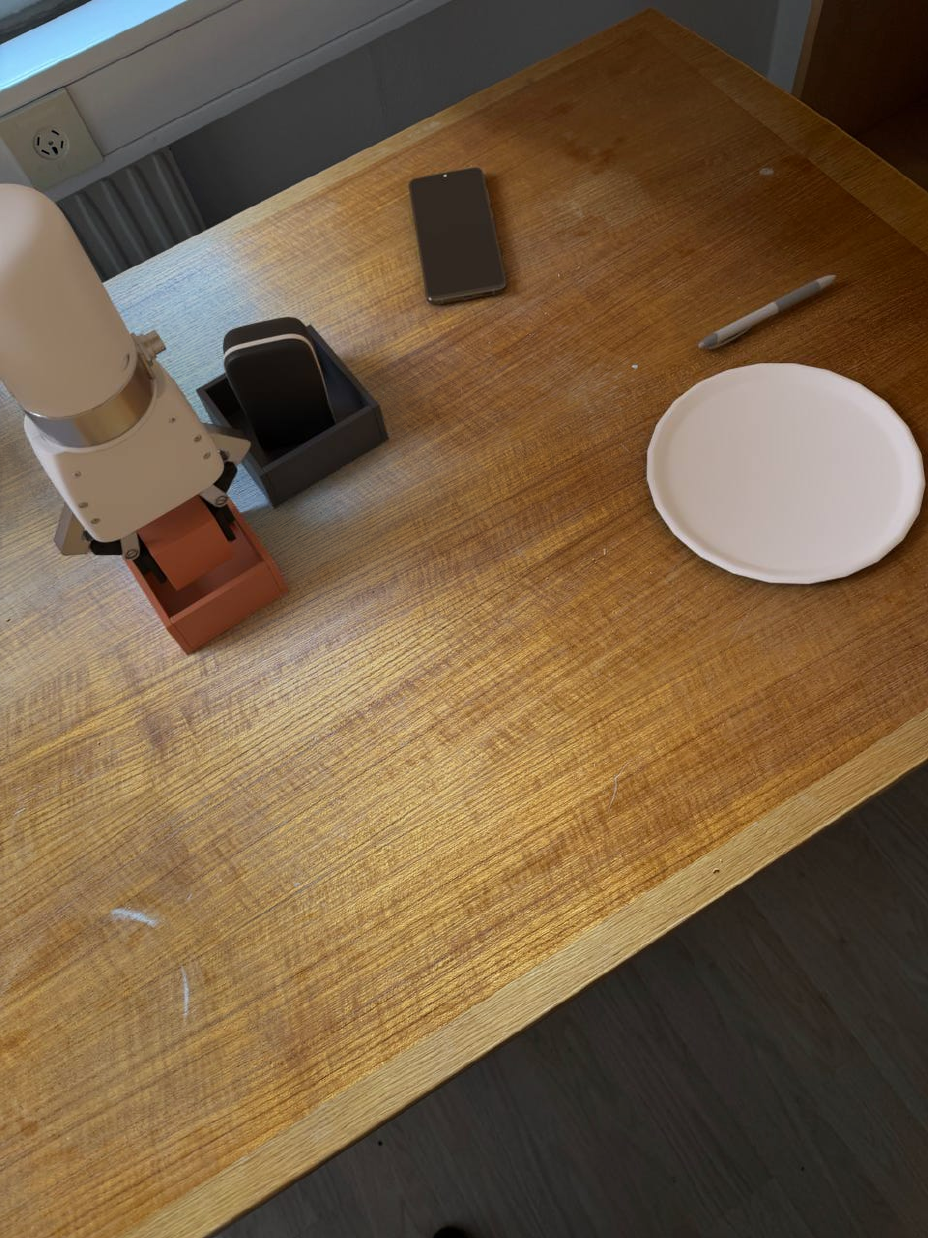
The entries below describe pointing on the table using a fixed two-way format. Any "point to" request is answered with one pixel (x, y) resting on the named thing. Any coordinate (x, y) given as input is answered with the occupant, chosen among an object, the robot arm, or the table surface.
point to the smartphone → (456, 236)
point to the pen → (764, 313)
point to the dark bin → (311, 460)
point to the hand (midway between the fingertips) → (189, 547)
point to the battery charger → (278, 381)
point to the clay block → (186, 542)
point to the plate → (785, 473)
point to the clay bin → (216, 591)
